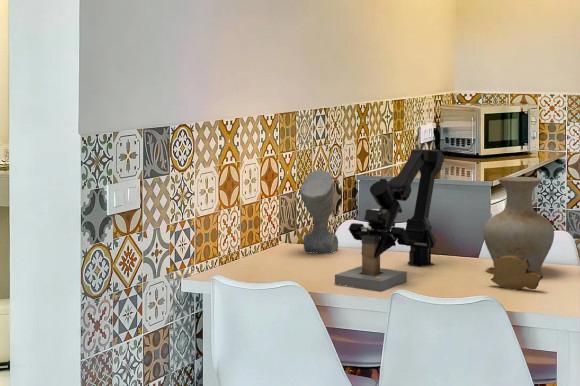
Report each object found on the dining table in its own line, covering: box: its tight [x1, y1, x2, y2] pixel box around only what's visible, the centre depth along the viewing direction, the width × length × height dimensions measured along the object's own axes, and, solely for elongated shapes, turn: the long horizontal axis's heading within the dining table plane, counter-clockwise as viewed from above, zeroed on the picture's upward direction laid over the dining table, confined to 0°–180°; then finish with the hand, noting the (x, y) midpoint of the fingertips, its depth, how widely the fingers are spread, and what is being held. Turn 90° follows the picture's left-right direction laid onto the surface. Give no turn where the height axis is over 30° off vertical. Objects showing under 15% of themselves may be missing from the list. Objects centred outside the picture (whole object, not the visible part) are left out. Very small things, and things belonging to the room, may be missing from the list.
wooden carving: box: [485, 255, 544, 290], centre depth 246 cm, size 16×5×10 cm, turn 62°
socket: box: [334, 265, 408, 292], centre depth 256 cm, size 16×16×3 cm
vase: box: [482, 176, 555, 274], centre depth 268 cm, size 22×22×30 cm
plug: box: [361, 235, 381, 276], centre depth 255 cm, size 4×4×12 cm
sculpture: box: [300, 169, 339, 254], centre depth 304 cm, size 12×23×30 cm, turn 170°
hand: (368, 256), depth 254 cm, fingers closed on plug, 4 cm apart
